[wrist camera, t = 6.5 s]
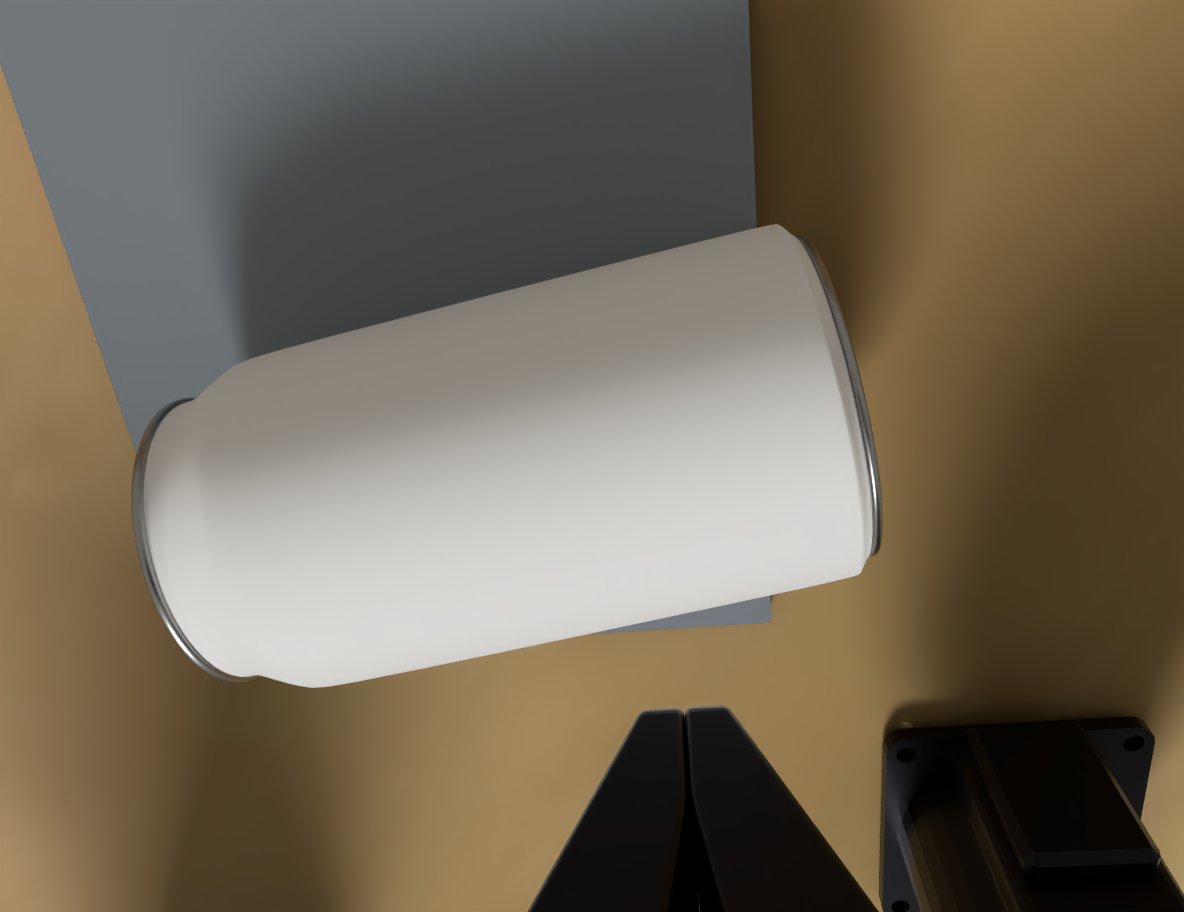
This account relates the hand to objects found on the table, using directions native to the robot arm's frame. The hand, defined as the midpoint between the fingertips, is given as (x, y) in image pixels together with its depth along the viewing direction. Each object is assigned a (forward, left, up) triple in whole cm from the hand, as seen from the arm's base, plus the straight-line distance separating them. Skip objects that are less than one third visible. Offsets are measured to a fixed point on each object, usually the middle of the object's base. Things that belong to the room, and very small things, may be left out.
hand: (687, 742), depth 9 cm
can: (0, -3, -9) cm, 10 cm away
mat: (+1, +5, -12) cm, 13 cm away
